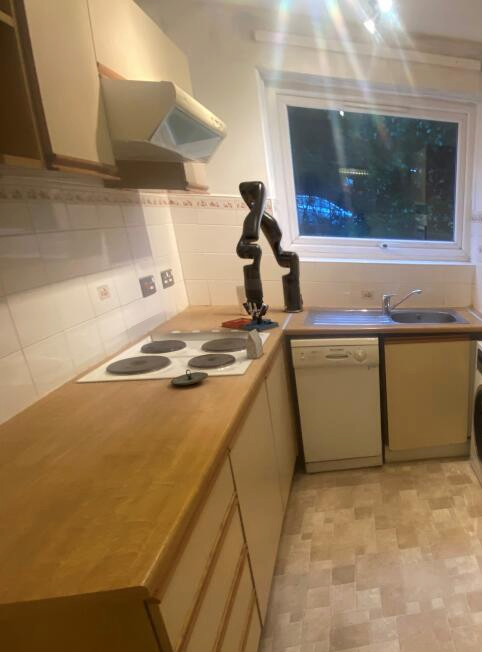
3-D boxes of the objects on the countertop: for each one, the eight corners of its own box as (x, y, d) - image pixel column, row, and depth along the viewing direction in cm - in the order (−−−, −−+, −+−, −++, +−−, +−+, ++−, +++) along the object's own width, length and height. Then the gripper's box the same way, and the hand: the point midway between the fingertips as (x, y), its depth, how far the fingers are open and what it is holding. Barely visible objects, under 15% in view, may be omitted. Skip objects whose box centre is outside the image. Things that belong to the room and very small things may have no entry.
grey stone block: (263, 353, 173) (260, 328, 170) (257, 358, 167) (254, 333, 163) (253, 353, 173) (250, 328, 169) (247, 358, 166) (244, 332, 163)
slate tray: (262, 323, 218) (261, 320, 217) (278, 326, 216) (278, 322, 215) (242, 329, 206) (242, 325, 206) (259, 331, 204) (259, 327, 203)
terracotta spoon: (235, 326, 209) (235, 322, 208) (229, 325, 210) (229, 321, 209) (251, 322, 218) (251, 318, 218) (245, 321, 219) (245, 317, 218)
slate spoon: (255, 325, 205) (255, 321, 205) (249, 325, 206) (249, 321, 205) (271, 321, 215) (270, 317, 214) (265, 321, 216) (265, 317, 215)
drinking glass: (239, 313, 238) (235, 285, 232) (253, 312, 241) (249, 285, 235) (239, 315, 232) (235, 287, 227) (253, 315, 235) (250, 287, 230)
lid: (210, 389, 140) (212, 374, 139) (174, 388, 133) (175, 372, 132) (202, 381, 147) (204, 367, 146) (167, 379, 140) (169, 364, 139)
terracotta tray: (242, 321, 221) (242, 317, 221) (258, 323, 219) (258, 319, 218) (222, 326, 209) (221, 322, 209) (238, 328, 207) (238, 324, 206)
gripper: (271, 288, 204) (275, 324, 210) (247, 285, 208) (251, 321, 214) (260, 290, 197) (264, 327, 203) (235, 287, 201) (240, 324, 207)
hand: (257, 324), depth 209 cm, fingers closed on slate spoon, 2 cm apart
